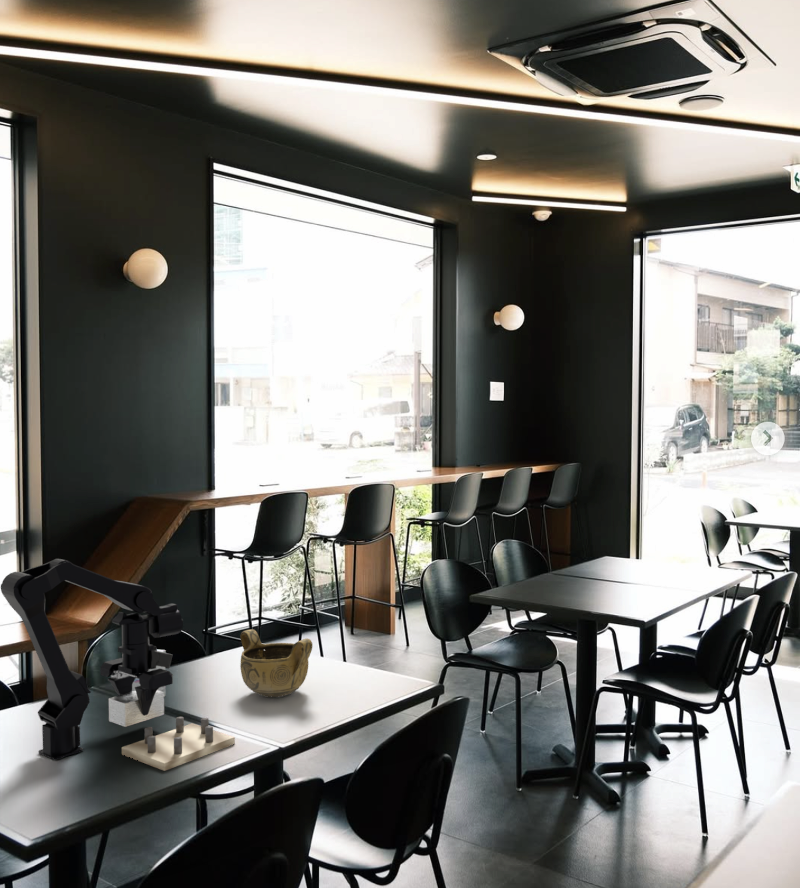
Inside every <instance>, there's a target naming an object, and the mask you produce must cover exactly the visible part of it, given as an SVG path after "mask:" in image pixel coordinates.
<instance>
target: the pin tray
mask: <svg viewBox="0 0 800 888" xmlns="http://www.w3.org/2000/svg"><path fill="white" fill-rule="evenodd" d="M184 721H185V719H184V716H177V717H175V728H173V729H171V730H169V731H166V732H162V733H159V734H157V735H153V734H154V733H153V731H154V730H153V727H152V726H147V727H144V739H142V740H139V741H136V742H133V743H131V744H127V745H124V746H122V747H121V755H122V756H124V755H125V757H127V758H129V757H130V759H132V758H133V759H132V760H135V761H137V760H138V761H137V762H140V763H142V764H143V763H144V765H145V764H146V765H148V766H151V767H153V768H155V769H157V770H158V769H159V770H161V771H164V772H165V771H168V770H171V769H173V768H176V767H179V766H181V765H184V764H187V763H189V762H192V761H195V760H197V759H200V758H202V757H205V756H207V755H209V754H212V753H214V752H217V751H221V750H223V749H225V748H228V747H231V746H233V744H234V745H236V739H235V738H236V737H235V736H233V735H230V734H226V733H224V732H220V731H219V730H218V731H217V730H214V726H212V725H209V723H210V722H209V721H210V719H209V718H208V717H202V718H200V725H198V724H195V723H192V722H191V723H189V724H187V725H185V723H184ZM230 745H231V746H230Z"/></svg>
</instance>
